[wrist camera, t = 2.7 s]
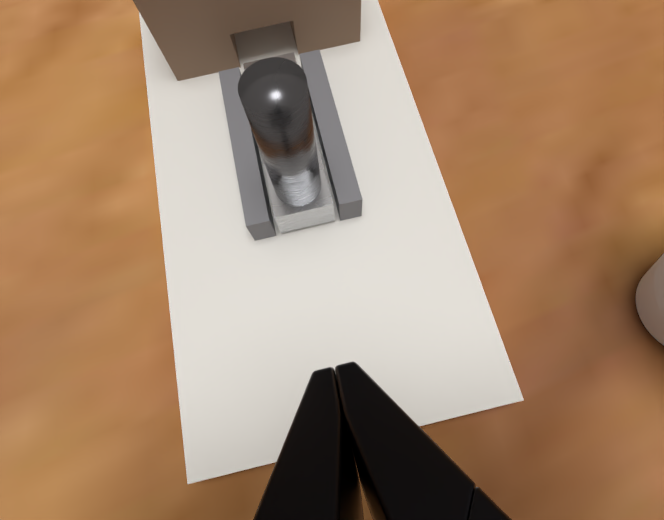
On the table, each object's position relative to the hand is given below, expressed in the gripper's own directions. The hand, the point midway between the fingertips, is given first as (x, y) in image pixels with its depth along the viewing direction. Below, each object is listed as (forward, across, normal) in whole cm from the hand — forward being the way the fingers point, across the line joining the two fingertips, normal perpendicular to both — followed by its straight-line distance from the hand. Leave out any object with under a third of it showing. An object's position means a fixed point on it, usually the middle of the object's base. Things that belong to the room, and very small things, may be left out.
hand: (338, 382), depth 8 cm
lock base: (+19, 0, +1) cm, 19 cm away
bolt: (+18, 0, -1) cm, 18 cm away
